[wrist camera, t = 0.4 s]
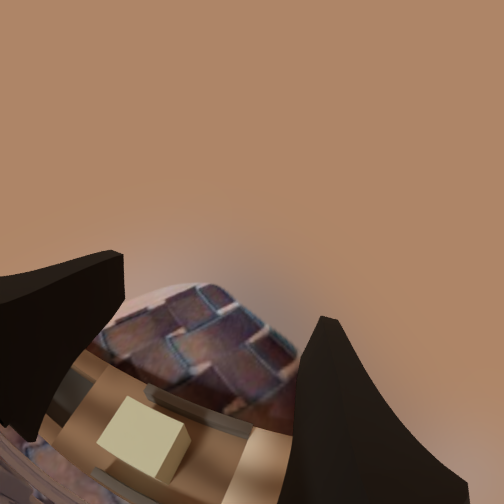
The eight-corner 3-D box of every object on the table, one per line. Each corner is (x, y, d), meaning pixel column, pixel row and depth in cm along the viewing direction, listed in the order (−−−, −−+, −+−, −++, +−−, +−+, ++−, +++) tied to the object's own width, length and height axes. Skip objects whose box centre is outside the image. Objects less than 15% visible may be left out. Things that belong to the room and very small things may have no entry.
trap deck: (275, 551, 11) (284, 558, 9) (24, 416, 18) (3, 397, 15) (309, 448, 21) (323, 435, 18) (76, 350, 27) (62, 327, 25)
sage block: (168, 485, 15) (154, 477, 12) (118, 458, 16) (96, 442, 13) (191, 440, 19) (183, 423, 16) (142, 417, 20) (127, 395, 17)
